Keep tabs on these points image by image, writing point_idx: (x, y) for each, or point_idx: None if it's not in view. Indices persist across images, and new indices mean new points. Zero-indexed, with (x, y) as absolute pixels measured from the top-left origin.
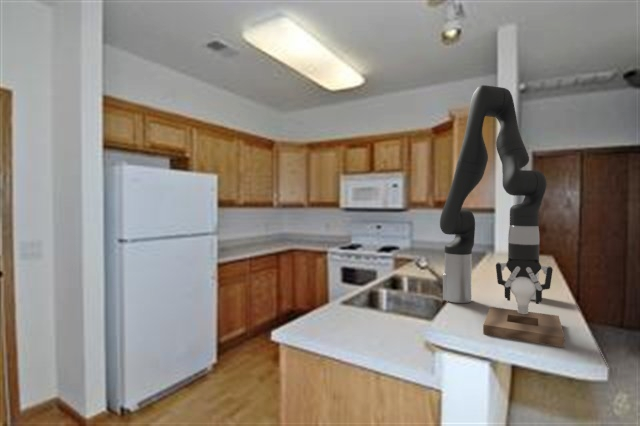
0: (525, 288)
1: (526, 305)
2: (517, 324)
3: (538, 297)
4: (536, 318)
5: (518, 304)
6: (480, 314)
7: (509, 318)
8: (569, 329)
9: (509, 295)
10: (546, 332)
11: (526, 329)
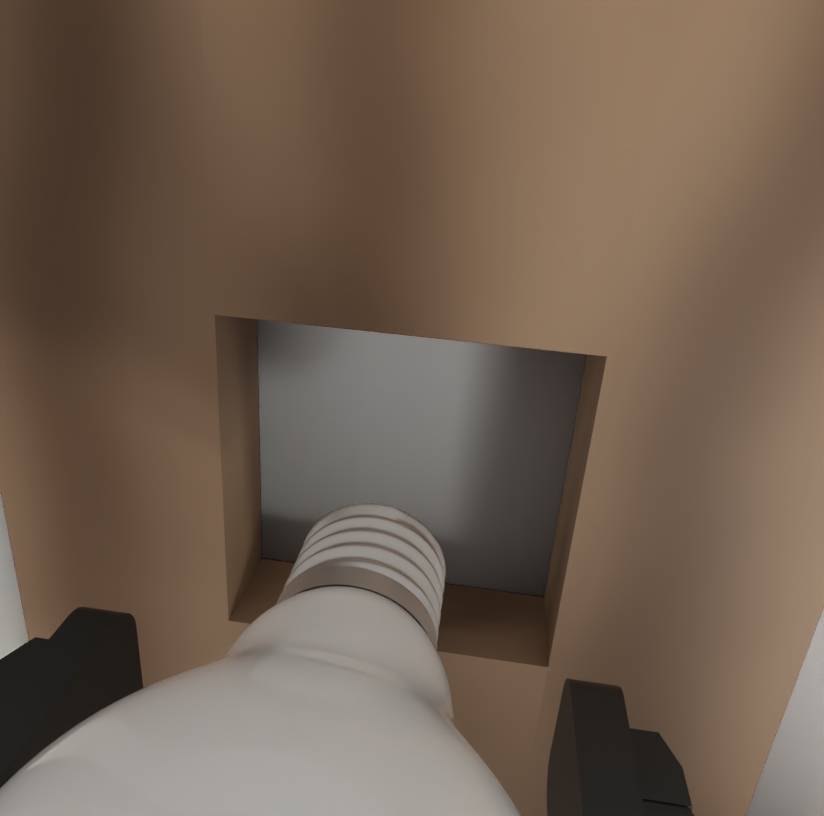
0: (140, 805)
1: (293, 592)
2: (471, 264)
3: (7, 692)
4: (243, 620)
5: (420, 621)
6: (808, 779)
7: (530, 630)
8: (12, 596)
9: (588, 762)
10: (110, 43)
11: (363, 53)
